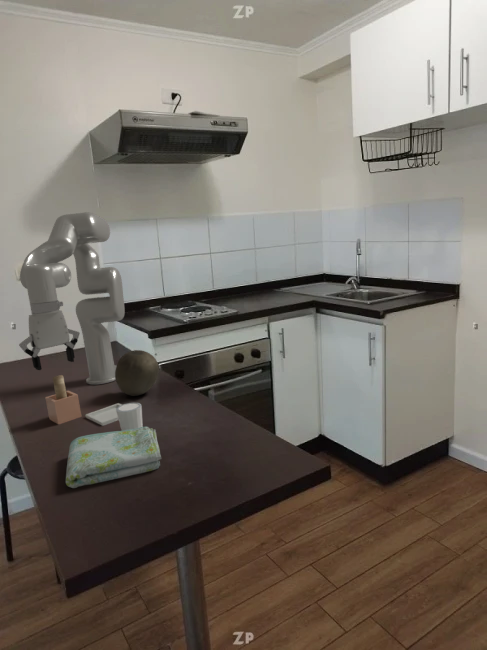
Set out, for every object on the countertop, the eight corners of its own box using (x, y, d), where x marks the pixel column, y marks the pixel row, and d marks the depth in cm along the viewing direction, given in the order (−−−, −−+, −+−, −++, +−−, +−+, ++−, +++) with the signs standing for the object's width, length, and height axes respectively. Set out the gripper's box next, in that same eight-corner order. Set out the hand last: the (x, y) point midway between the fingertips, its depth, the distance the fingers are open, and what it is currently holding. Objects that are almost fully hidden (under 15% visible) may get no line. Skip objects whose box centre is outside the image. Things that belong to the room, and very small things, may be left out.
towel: (165, 470, 108) (162, 449, 107) (66, 492, 103) (62, 470, 102) (156, 439, 126) (154, 420, 125) (71, 456, 120) (68, 437, 119)
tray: (119, 407, 151) (118, 403, 151) (137, 415, 143) (136, 410, 143) (86, 419, 144) (85, 414, 144) (103, 427, 136) (102, 422, 136)
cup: (72, 413, 150) (68, 390, 149) (82, 418, 145) (77, 394, 144) (49, 421, 146) (45, 397, 144) (58, 426, 140) (54, 401, 139)
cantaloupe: (130, 404, 153) (123, 359, 150) (112, 395, 164) (105, 353, 161) (169, 392, 161) (163, 349, 158) (148, 384, 172) (143, 344, 169)
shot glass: (149, 426, 134) (146, 402, 132) (136, 436, 127) (132, 412, 126) (128, 425, 136) (124, 401, 135) (114, 435, 130) (110, 411, 128)
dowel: (68, 415, 147) (60, 374, 145) (72, 417, 145) (64, 376, 143) (58, 418, 145) (50, 377, 143) (62, 420, 143) (54, 379, 141)
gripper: (68, 303, 147) (77, 357, 150) (9, 313, 136) (20, 371, 139) (79, 303, 142) (88, 359, 145) (18, 314, 130) (29, 374, 133)
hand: (55, 365), depth 142 cm, fingers open, 9 cm apart
